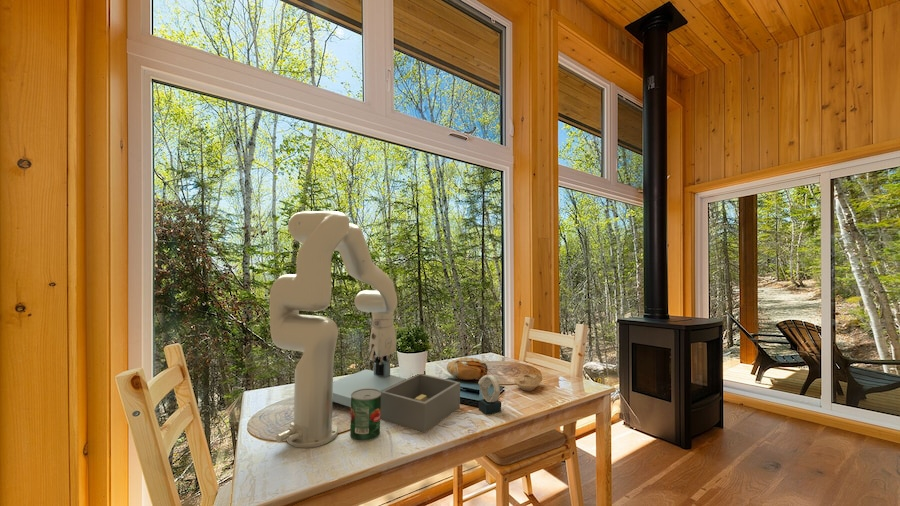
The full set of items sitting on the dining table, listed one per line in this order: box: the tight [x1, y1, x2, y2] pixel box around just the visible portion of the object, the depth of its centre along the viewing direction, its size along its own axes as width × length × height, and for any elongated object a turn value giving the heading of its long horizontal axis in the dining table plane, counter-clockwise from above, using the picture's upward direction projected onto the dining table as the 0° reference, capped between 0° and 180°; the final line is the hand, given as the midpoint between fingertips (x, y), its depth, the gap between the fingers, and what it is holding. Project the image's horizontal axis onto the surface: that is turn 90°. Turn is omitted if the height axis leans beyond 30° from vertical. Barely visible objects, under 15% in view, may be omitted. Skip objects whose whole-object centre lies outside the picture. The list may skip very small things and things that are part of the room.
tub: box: [380, 374, 461, 434], centre depth 112 cm, size 20×16×8 cm
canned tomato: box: [349, 388, 381, 443], centre depth 98 cm, size 8×8×11 cm
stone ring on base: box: [477, 374, 502, 416], centre depth 114 cm, size 6×8×11 cm
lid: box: [332, 361, 407, 408], centre depth 124 cm, size 23×19×8 cm
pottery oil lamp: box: [513, 373, 543, 392], centre depth 134 cm, size 9×12×7 cm
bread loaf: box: [446, 356, 494, 381], centre depth 142 cm, size 8×22×15 cm
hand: (381, 373), depth 132 cm, fingers closed on lid
